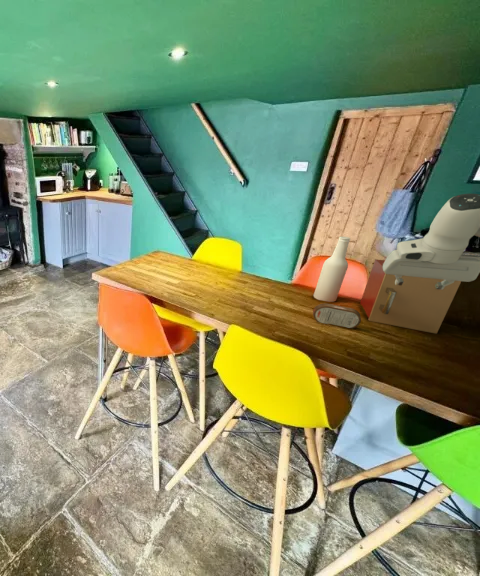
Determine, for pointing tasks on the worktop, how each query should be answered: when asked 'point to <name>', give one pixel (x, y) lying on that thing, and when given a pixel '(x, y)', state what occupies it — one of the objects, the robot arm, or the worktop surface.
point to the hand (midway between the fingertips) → (417, 286)
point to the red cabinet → (373, 286)
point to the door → (413, 303)
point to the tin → (336, 315)
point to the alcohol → (333, 273)
